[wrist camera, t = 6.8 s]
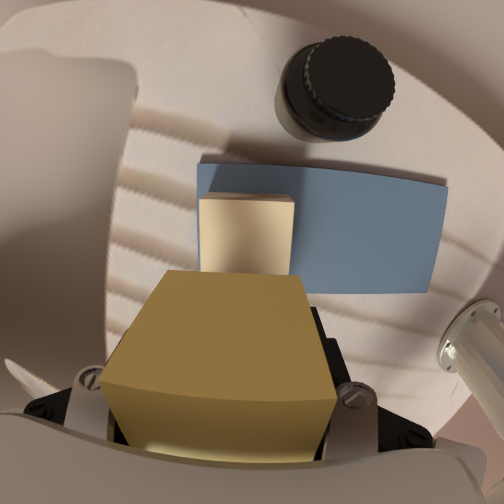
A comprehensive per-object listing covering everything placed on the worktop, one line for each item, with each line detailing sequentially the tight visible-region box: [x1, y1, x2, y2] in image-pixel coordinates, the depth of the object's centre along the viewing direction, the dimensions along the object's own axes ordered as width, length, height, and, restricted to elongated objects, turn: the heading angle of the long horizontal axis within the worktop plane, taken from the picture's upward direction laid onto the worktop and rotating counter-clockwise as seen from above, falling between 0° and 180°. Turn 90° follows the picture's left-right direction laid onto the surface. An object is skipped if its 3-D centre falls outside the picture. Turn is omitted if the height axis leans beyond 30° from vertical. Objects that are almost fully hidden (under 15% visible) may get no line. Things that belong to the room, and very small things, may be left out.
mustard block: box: [98, 270, 337, 463], centre depth 9 cm, size 5×5×6 cm
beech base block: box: [199, 192, 294, 275], centre depth 24 cm, size 7×7×4 cm
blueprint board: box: [197, 163, 448, 294], centre depth 26 cm, size 25×12×1 cm, turn 88°
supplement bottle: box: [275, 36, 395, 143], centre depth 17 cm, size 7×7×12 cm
